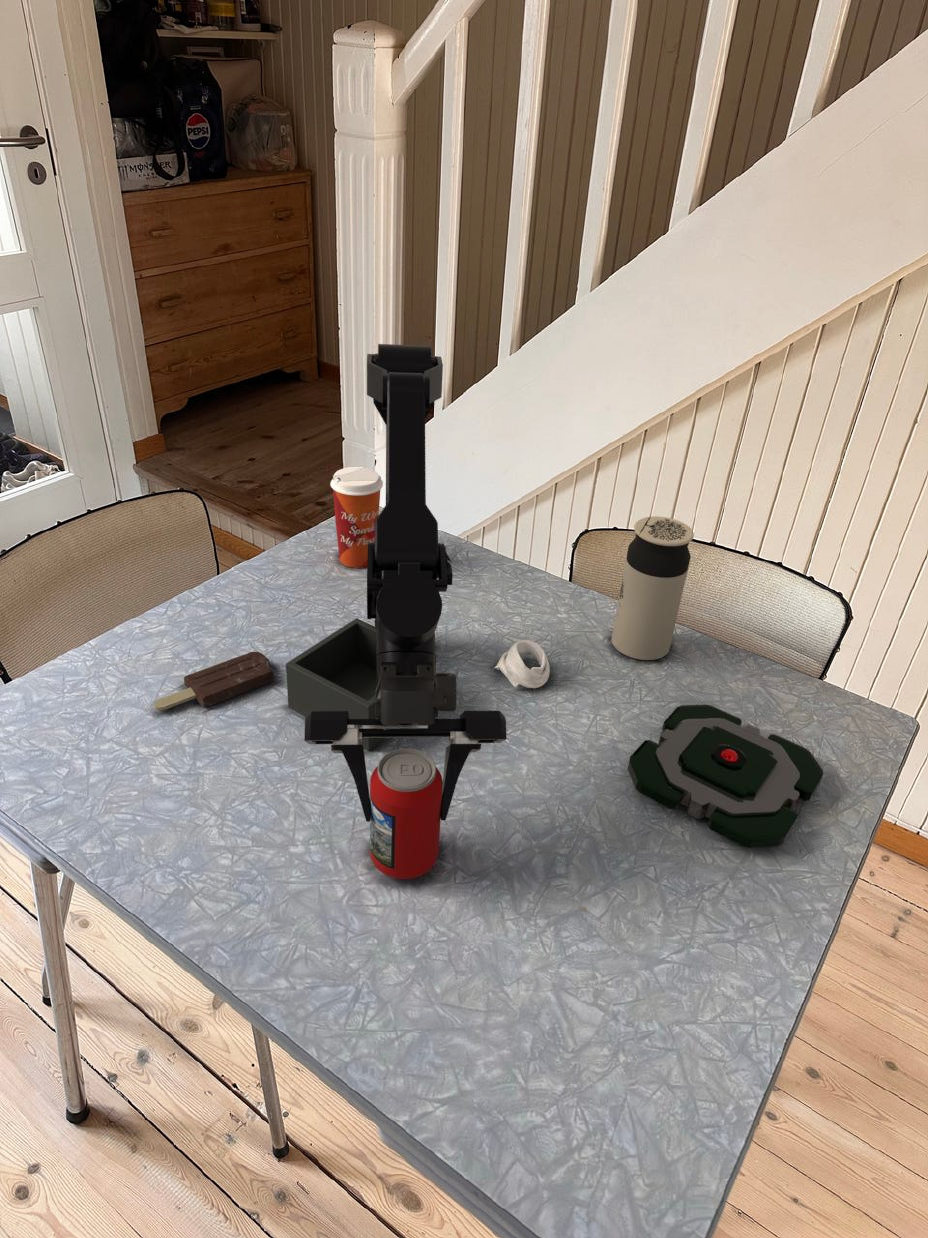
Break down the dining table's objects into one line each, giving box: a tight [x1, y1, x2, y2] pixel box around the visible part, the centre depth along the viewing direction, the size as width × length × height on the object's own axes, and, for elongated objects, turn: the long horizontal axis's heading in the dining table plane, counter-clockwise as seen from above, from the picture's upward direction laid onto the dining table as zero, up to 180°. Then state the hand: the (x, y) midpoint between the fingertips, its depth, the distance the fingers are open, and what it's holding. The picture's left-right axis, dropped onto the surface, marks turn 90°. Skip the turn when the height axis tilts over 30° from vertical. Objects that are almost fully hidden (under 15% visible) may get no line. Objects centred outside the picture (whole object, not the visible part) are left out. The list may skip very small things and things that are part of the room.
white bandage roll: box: [492, 639, 551, 689], centre depth 111 cm, size 8×7×5 cm
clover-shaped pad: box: [627, 703, 824, 849], centre depth 96 cm, size 18×18×5 cm
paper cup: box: [330, 466, 384, 569], centre depth 131 cm, size 8×8×14 cm
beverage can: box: [369, 748, 443, 880], centre depth 83 cm, size 7×7×12 cm
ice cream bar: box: [153, 651, 275, 711], centre depth 106 cm, size 5×2×15 cm
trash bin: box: [285, 617, 438, 752], centre depth 104 cm, size 13×13×6 cm
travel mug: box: [611, 515, 695, 661], centre depth 115 cm, size 8×8×18 cm
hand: (405, 821), depth 81 cm, fingers closed on beverage can, 7 cm apart
